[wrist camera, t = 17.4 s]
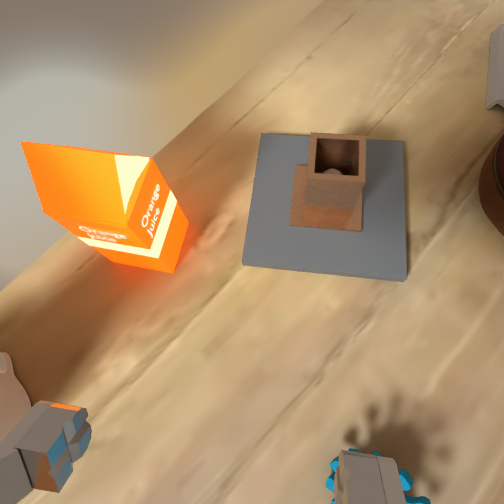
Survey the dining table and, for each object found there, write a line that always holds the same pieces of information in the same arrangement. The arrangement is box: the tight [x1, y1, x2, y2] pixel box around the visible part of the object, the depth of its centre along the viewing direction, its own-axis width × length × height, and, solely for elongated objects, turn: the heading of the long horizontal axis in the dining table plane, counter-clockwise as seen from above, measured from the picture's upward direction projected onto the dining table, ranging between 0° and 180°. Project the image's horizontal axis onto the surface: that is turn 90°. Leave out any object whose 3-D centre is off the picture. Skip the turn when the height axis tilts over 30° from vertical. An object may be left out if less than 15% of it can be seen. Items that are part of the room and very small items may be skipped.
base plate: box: [242, 133, 407, 282], centre depth 43 cm, size 20×20×6 cm
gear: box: [326, 448, 431, 504], centre depth 32 cm, size 11×6×10 cm
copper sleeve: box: [289, 132, 366, 232], centre depth 40 cm, size 9×9×9 cm
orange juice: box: [21, 141, 189, 273], centre depth 37 cm, size 8×9×20 cm
